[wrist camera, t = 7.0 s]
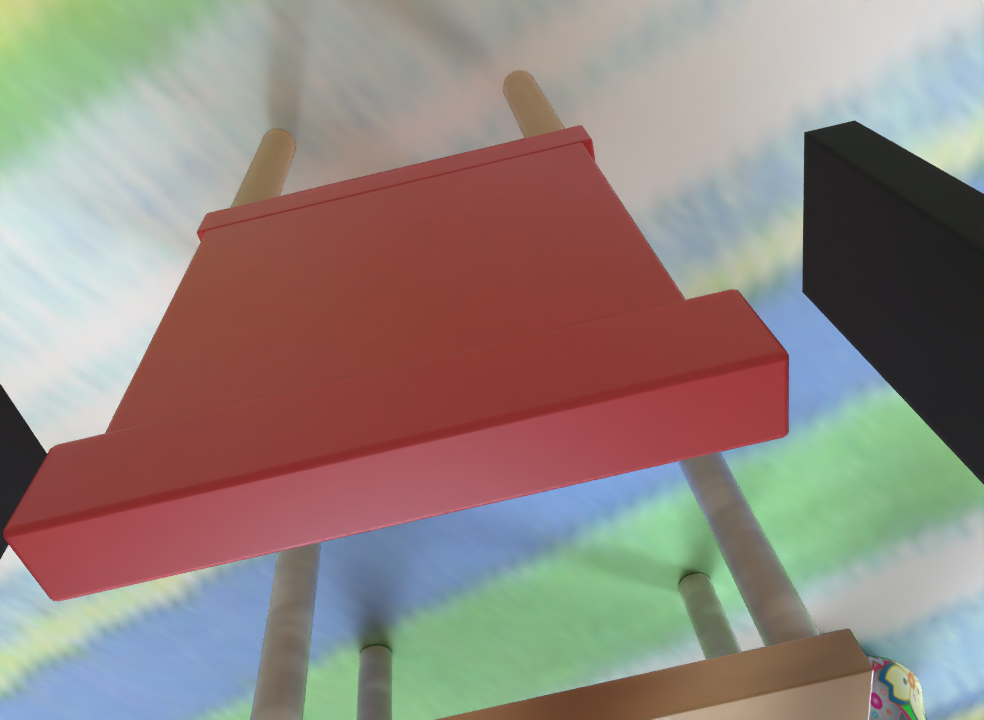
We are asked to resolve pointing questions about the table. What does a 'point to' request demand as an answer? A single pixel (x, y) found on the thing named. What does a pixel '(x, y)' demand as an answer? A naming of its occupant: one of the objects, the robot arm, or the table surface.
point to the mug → (894, 692)
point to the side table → (641, 698)
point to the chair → (399, 364)
